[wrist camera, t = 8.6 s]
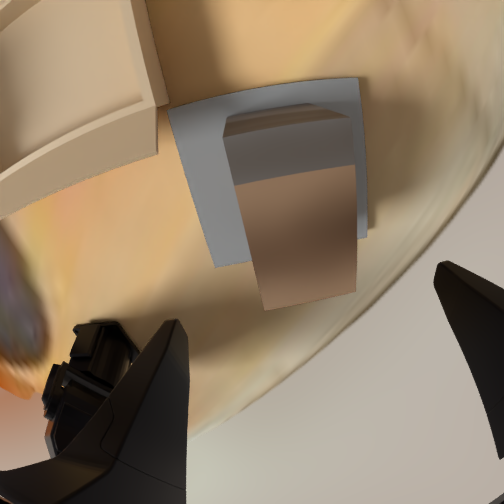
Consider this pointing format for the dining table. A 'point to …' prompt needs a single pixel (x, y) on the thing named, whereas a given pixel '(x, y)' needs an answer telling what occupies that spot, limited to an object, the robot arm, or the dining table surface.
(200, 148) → the felt pad
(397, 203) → the dining table surface
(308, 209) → the walnut block
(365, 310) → the dining table surface
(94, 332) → the robot arm
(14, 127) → the beige tray
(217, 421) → the dining table surface
